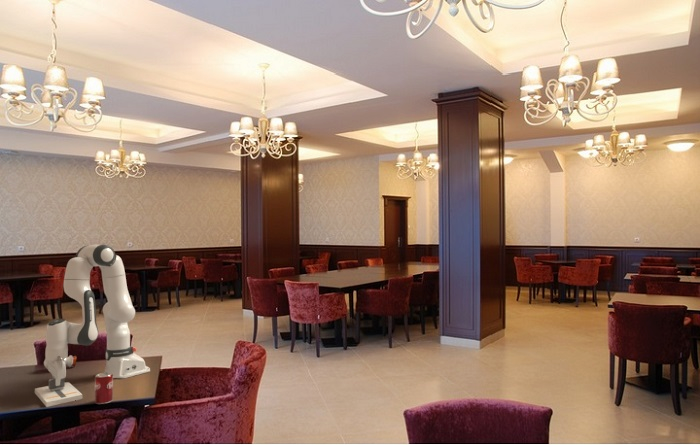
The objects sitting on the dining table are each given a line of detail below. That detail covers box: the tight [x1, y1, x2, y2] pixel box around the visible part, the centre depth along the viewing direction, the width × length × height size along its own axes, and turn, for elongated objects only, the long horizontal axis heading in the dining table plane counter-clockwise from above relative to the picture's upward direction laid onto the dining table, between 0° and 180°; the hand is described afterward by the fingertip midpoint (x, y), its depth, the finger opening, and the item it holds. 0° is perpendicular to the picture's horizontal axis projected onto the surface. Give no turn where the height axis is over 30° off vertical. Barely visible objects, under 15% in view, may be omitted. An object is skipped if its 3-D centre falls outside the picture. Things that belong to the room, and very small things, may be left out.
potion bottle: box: [43, 354, 77, 371], centre depth 261 cm, size 9×10×15 cm
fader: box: [48, 377, 66, 391], centre depth 221 cm, size 6×4×5 cm, turn 134°
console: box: [34, 381, 83, 408], centre depth 219 cm, size 14×25×2 cm, turn 43°
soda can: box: [94, 372, 114, 405], centre depth 211 cm, size 7×7×12 cm
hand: (56, 384), depth 221 cm, fingers closed on fader, 2 cm apart
